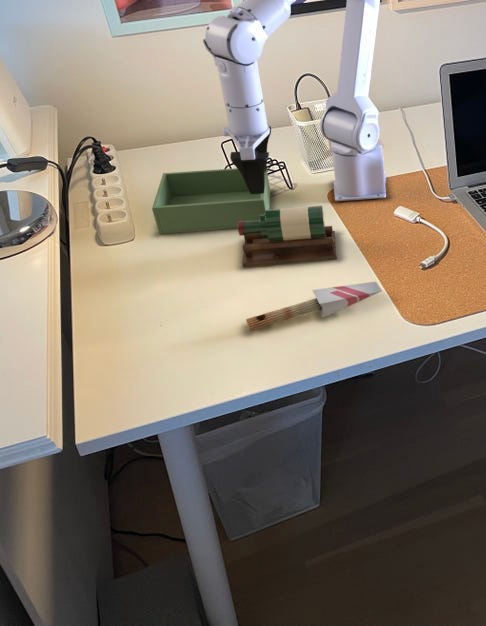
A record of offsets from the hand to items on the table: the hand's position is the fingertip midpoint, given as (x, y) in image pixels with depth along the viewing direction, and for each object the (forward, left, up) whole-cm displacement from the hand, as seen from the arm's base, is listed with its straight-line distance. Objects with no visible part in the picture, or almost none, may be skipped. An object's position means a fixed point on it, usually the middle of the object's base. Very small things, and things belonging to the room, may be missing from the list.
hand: (258, 181), depth 118 cm
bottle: (-3, +5, -8) cm, 10 cm away
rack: (-4, +5, -10) cm, 12 cm away
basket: (+9, -10, -10) cm, 17 cm away
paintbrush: (-8, +23, -10) cm, 27 cm away
